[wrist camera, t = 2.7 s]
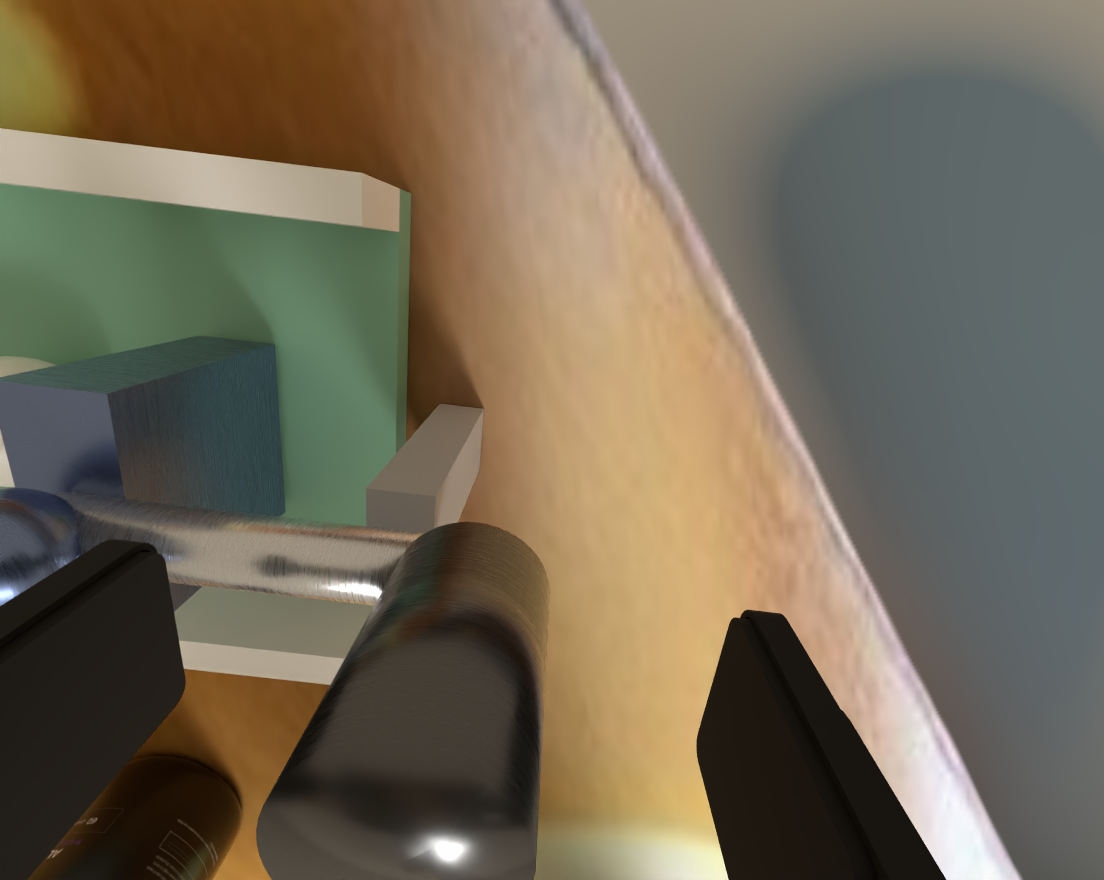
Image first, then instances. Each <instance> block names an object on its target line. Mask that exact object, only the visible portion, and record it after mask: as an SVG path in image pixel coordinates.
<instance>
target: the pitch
mask: <svg viewBox="0 0 1104 880" xmlns="http://www.w3.org/2000/svg"><path fill="white" fill-rule="evenodd" d="M410 231H411V193H409V192H407V191H404V190H402V189H400V188H397V187H395V186H392V185H390V184H388V183H385V182H383V181H380V180H378V179H376V178H373V177H371V176H368V175H366V174H364V173H359V172H351V171H343V170H335V169H327V168H319V167H311V166H302V165H294V164H286V163H278V162H270V161H262V160H254V159H246V158H237V157H229V156H221V155H213V154H205V153H197V152H189V151H181V150H172V149H164V148H156V147H148V146H140V145H132V144H124V143H116V142H108V141H99V140H91V139H83V138H75V137H67V136H59V135H51V134H43V133H34V132H26V131H18V130H10V129H2V128H0V357H1V356H16V357H27V358H33V359H38V360H42V361H45V362H49V363H52V364H55V365H61V364H66V363H71V362H75V361H80V360H85V359H90V358H94V357H99V356H104V355H109V354H113V353H118V352H123V351H128V350H132V349H137V348H142V347H147V346H151V345H156V344H161V343H166V342H170V341H175V340H180V339H185V338H190V337H194V336H199V335H200V336H209V337H217V338H226V339H234V340H243V341H251V342H259V343H268V344H275V355H276V370H277V386H278V401H279V417H280V433H281V448H282V464H283V479H284V495H285V511H286V512H285V513H283V514H282V515H281V516H280V517H288V518H297V519H306V520H315V521H323V522H332V523H341V524H350V525H358V526H367V527H376V528H384V529H393V530H402V531H411V532H419V533H426V532H428V531H430V530H432V529H434V528H436V527H440V526H443V525H446V524H452V523H458V521H459V518H460V516H461V513H462V511H463V508H464V506H465V504H466V501H467V499H468V496H469V494H470V492H471V489H472V487H473V484H474V482H475V479H476V477H477V475H478V472H479V470H480V457H481V443H482V429H483V416H484V409H482V408H474V407H465V406H457V405H448V404H439V405H438V406H437V407H436V409H435V410H434V411H433V412H432V413H431V414H430V416H429V417H428V418H427V419H426V420H425V421H424V422H423V424H422V425H421V426H420V427H419V428H418V429H417V430H416V432H415V433H414V434H413V435H412V436H411V437H410V438H409V440H408V441H407V442H406V416H407V370H408V324H409V277H410ZM0 488H15V487H0ZM373 607H374V606H373V605H364V604H356V603H347V602H338V601H329V600H320V599H311V598H302V597H293V596H285V595H276V594H267V593H258V592H249V591H240V590H231V589H222V588H214V587H205V586H202V587H201V588H200V589H199V590H198V591H197V592H196V593H195V594H194V595H192V596H191V597H190V598H189V599H188V600H187V601H186V602H185V603H184V604H182V605H181V606H180V607H179V608H178V609H177V610H176V611H175V612H174V614H175V620H176V626H177V632H178V638H179V644H180V650H181V656H182V661H183V667H184V669H191V670H200V671H209V672H218V673H227V674H236V675H245V676H254V677H263V678H272V679H281V680H290V681H299V682H308V683H317V684H326V685H330V684H331V683H332V681H333V679H334V677H335V675H336V674H337V672H338V670H339V668H340V666H341V665H342V663H343V661H344V659H345V657H346V656H347V654H348V652H349V650H350V648H351V647H352V645H353V643H354V641H355V639H356V637H357V636H358V634H359V632H360V630H361V628H362V627H363V625H364V623H365V621H366V619H367V618H368V616H369V614H370V612H371V610H372V609H373Z"/></svg>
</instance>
